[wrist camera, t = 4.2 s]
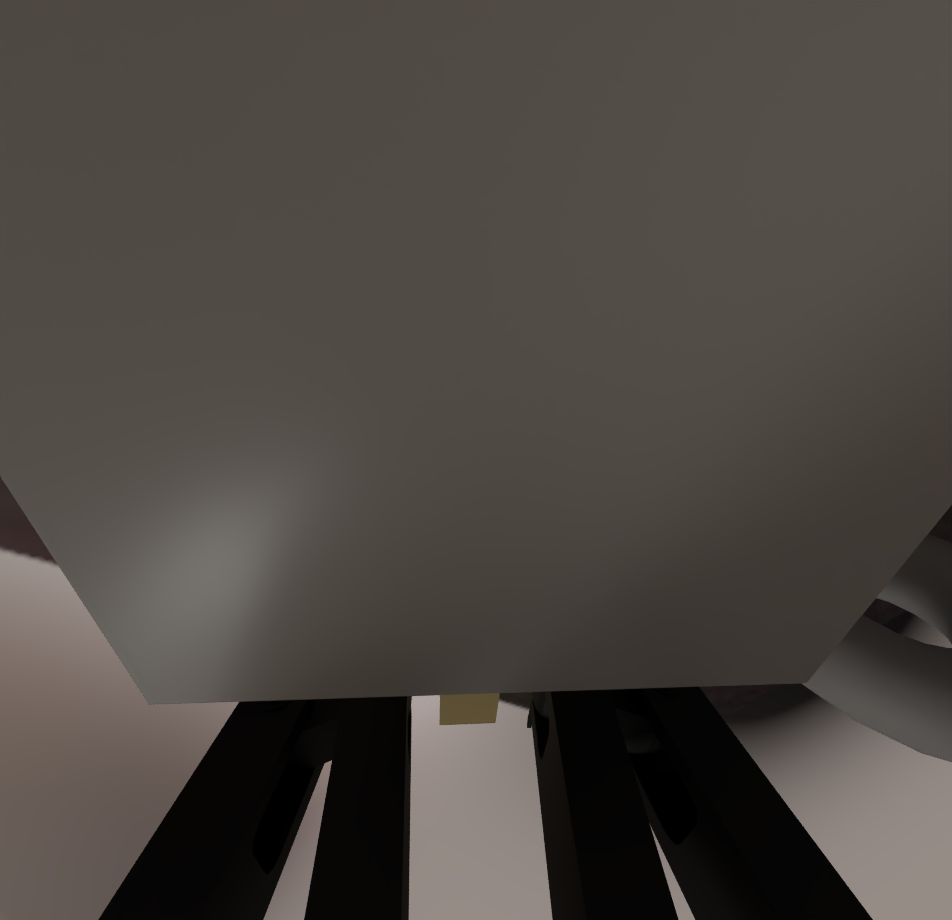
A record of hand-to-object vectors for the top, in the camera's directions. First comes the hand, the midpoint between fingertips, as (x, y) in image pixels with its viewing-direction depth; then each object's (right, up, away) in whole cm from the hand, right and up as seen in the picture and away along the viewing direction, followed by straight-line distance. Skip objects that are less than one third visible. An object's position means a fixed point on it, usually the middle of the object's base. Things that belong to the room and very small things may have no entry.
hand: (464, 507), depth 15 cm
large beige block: (0, +10, -3) cm, 10 cm away
